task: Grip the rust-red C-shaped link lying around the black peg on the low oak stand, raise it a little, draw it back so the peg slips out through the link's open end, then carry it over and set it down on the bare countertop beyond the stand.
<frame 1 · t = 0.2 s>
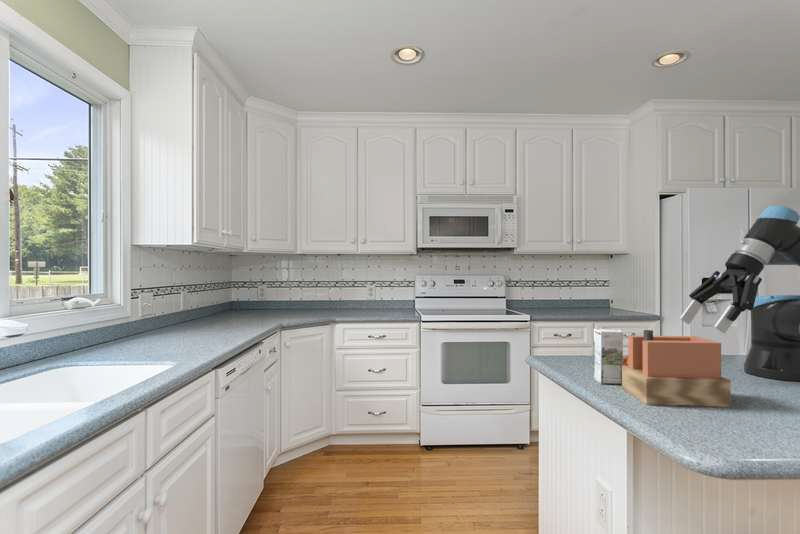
hand: (700, 325, 113), 16 cm above the countertop, tool tilted 35°, fingers open, 13 cm apart
c link: (672, 372, 103), point 6 cm above the countertop, touching stand
croissant: (637, 379, 121), on the countertop
syrup box: (607, 382, 116), on the countertop
stand: (672, 397, 103), on the countertop
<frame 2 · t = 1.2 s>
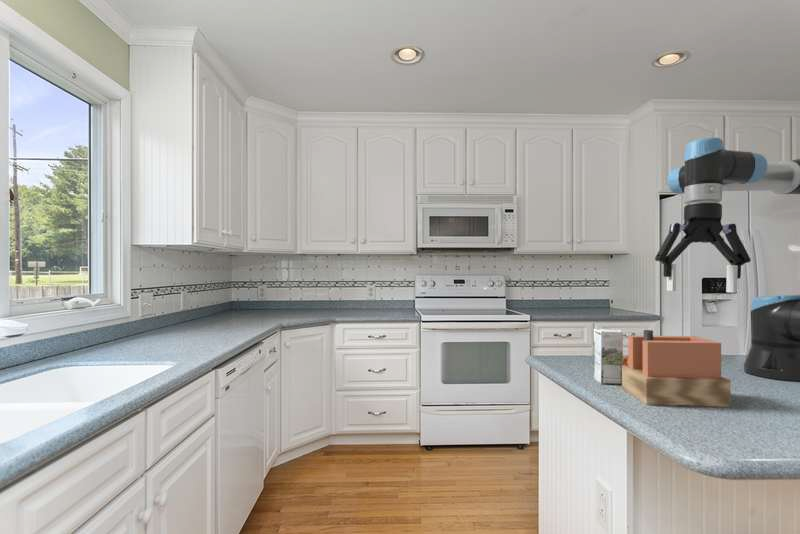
hand: (701, 291, 103), 25 cm above the countertop, tool pointing down, fingers open, 13 cm apart
nothing on the countertop moved.
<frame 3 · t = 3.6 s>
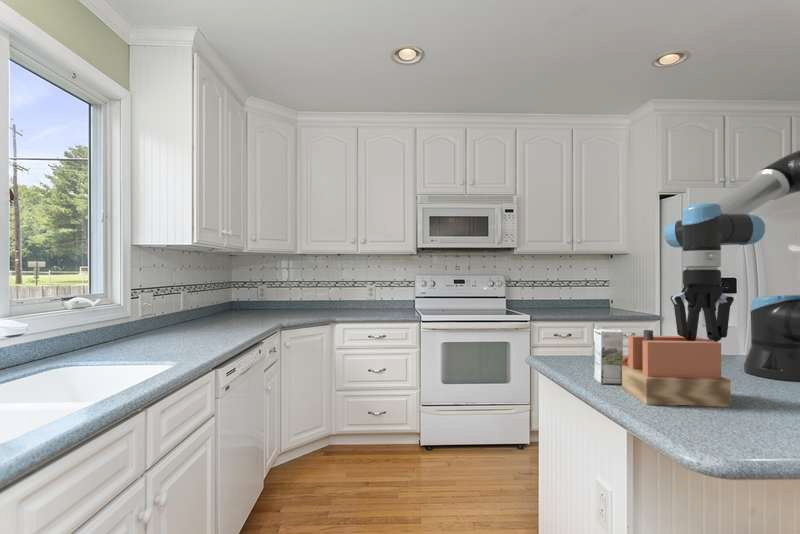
hand: (701, 366, 102), 8 cm above the countertop, tool pointing down, fingers closed on c link, 2 cm apart
c link: (672, 372, 103), point 6 cm above the countertop, touching gripper, stand
everything else where it was.
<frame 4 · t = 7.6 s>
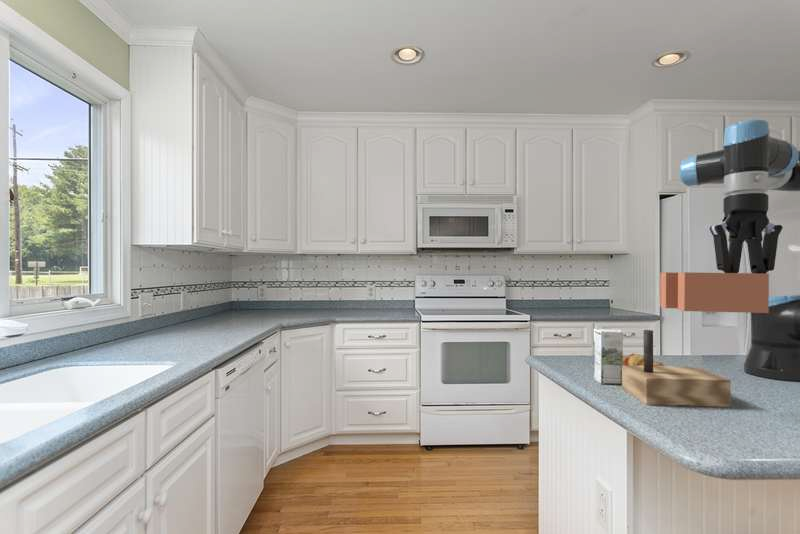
hand: (744, 303, 91), 23 cm above the countertop, tool pointing down, fingers closed on c link, 2 cm apart
c link: (711, 309, 92), point 22 cm above the countertop, touching gripper
everything else where it was.
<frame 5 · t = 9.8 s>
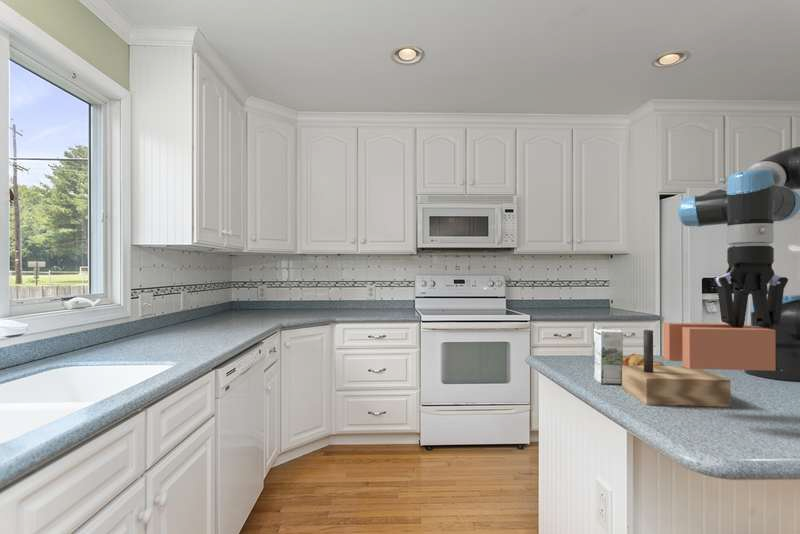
hand: (750, 357, 89), 12 cm above the countertop, tool pointing down, fingers closed on c link, 2 cm apart
c link: (715, 364, 89), point 11 cm above the countertop, touching gripper
when the fingers open (3 cm above the countertop, at t = 11.7 s): c link drops 1 cm, on the countertop.
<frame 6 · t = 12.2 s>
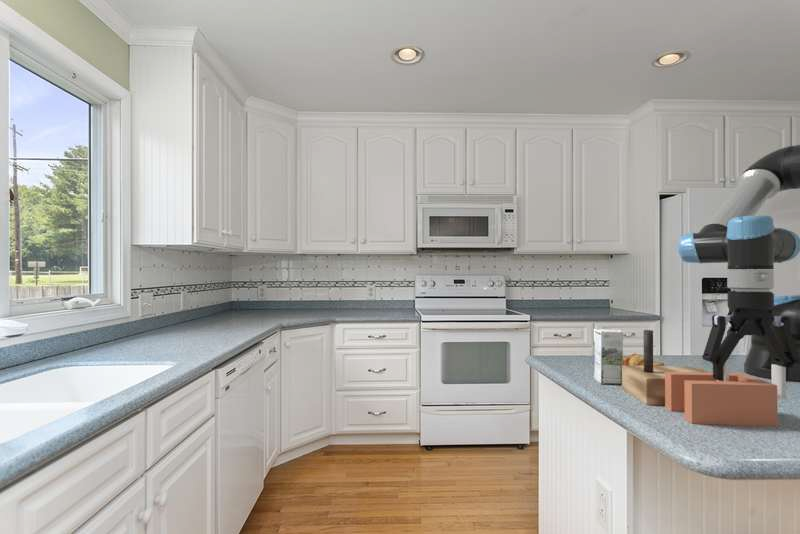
hand: (750, 396, 89), 4 cm above the countertop, tool pointing down, fingers open, 10 cm apart
c link: (717, 416, 89), on the countertop
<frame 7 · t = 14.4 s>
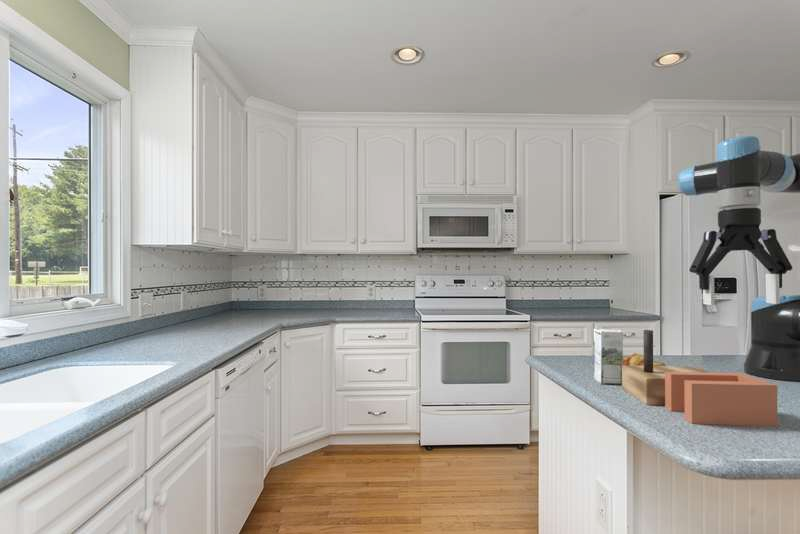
hand: (740, 304, 95), 23 cm above the countertop, tool pointing down, fingers open, 13 cm apart
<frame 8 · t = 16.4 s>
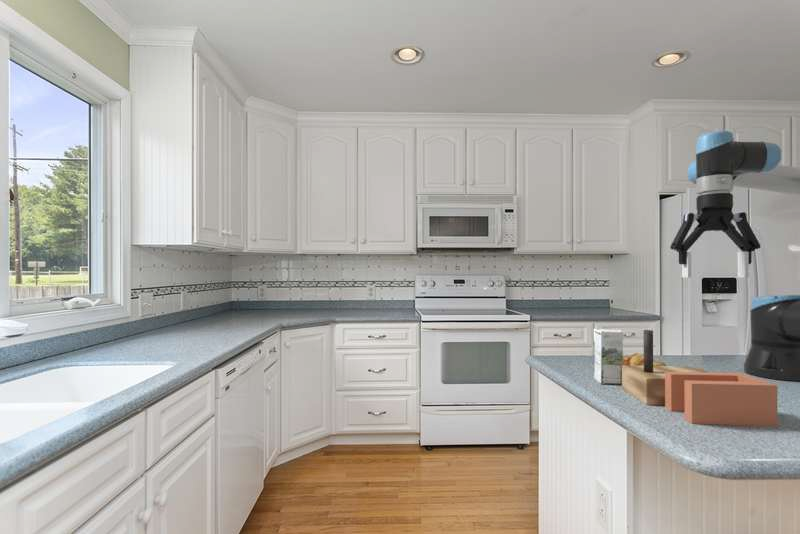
hand: (714, 277, 108), 29 cm above the countertop, tool pointing down, fingers open, 13 cm apart
at the end: c link inside the target area (0.3 cm from its centre), on the countertop; c link touching countertop; the gripper is holding nothing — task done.
